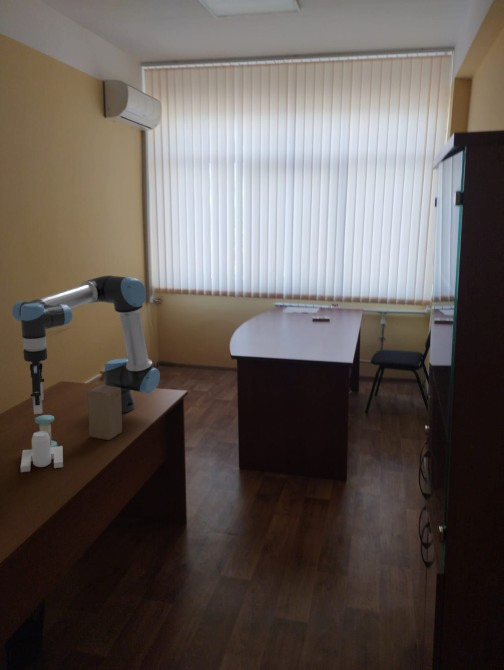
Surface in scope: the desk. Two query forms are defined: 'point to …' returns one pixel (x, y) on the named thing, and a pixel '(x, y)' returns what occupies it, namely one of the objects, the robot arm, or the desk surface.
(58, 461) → the u-shaped block
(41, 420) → the bobbin
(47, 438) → the beverage can
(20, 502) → the desk surface
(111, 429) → the wooden block
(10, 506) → the desk surface
